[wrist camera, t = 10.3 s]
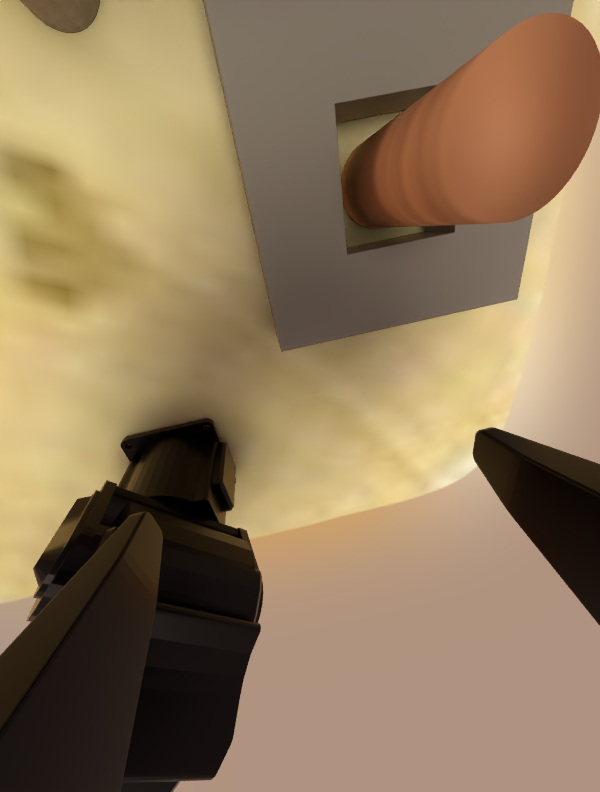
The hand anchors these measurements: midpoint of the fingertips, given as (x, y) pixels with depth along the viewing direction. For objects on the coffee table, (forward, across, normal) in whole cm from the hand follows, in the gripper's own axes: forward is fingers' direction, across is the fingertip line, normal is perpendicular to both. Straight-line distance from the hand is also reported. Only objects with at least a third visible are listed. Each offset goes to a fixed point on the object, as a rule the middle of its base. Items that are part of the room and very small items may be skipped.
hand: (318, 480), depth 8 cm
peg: (+13, -7, -7) cm, 16 cm away
